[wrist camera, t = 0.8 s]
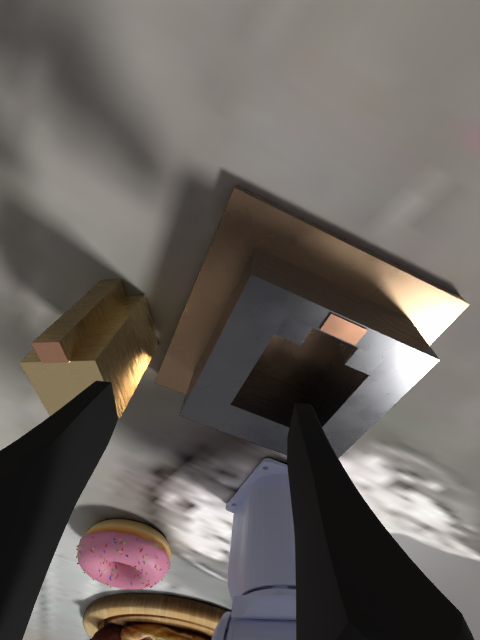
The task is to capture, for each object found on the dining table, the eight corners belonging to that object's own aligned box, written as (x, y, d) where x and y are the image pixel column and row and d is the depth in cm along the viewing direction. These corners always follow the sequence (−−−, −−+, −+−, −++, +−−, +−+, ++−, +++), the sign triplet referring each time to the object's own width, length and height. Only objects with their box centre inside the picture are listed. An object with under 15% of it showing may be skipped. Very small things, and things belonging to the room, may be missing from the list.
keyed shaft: (159, 343, 23) (118, 420, 17) (107, 345, 24) (50, 420, 18) (140, 278, 20) (85, 341, 14) (82, 281, 21) (6, 344, 15)
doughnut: (189, 554, 40) (181, 595, 37) (116, 560, 43) (103, 598, 40) (149, 507, 35) (135, 549, 32) (69, 517, 38) (48, 557, 34)
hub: (326, 438, 27) (337, 498, 22) (158, 373, 25) (133, 426, 20) (461, 296, 19) (516, 345, 15) (236, 184, 17) (223, 203, 13)
